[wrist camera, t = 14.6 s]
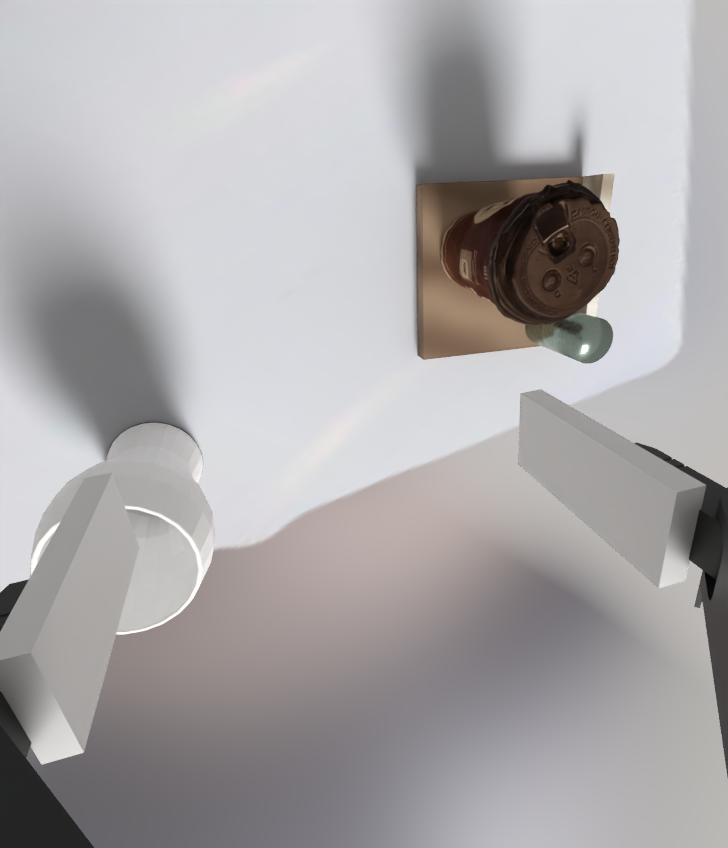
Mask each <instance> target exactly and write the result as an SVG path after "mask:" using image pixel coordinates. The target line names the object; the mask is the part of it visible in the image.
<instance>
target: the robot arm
mask: <svg viewBox="0 0 728 848" xmlns="http://www.w3.org/2000/svg"><path fill="white" fill-rule="evenodd" d="M518 464H519V465H520V466H521V467H522V468H523V469H524V470H525V471H526V472H528V473H529V474H530V475H531V476H532V477H534V479H536V480H537V481H538V482H539V483H540V484H541V485H542V486H543V487H545V488H546V489H547V490H548V491H549V492H550V493H551V494H552V495H554V496H555V497H556V498H557V499H558V500H559V501H560V502H562V503H563V504H564V505H565V506H566V507H567V508H568V509H569V510H571V511H572V512H573V513H574V514H575V515H576V516H578V517H579V518H580V519H581V520H582V521H583V522H584V523H585V524H587V525H588V526H589V527H590V528H591V529H592V530H593V531H594V532H595V533H597V534H598V535H599V536H600V537H601V538H602V539H603V540H605V541H606V542H607V543H608V544H609V545H610V546H611V547H612V548H614V549H615V550H616V551H617V552H618V553H619V554H620V555H621V556H623V557H624V558H625V559H626V560H627V561H628V562H629V563H630V564H632V565H633V566H634V567H635V568H636V569H637V570H638V571H640V572H641V573H642V574H643V575H644V576H645V577H646V578H647V579H649V580H650V581H651V582H652V583H653V584H654V585H655V586H656V587H658V588H662V587H665V586H668V585H672V584H676V583H679V582H683V581H685V580H686V576H687V571H688V566H689V562H690V561H692V562H693V563H694V564H696V565H697V566H698V567H700V568H701V569H702V570H703V572H702V576H701V580H700V585H699V589H698V593H697V597H696V603H695V607H698V608H700V605H701V602H703V607H704V613H705V621H706V628H707V635H708V642H709V649H710V656H711V663H712V670H713V677H714V684H715V691H716V699H717V706H718V713H719V720H720V727H721V734H722V740H723V748H724V755H725V761H726V769H727V775H728V488H725V487H723V486H721V485H720V484H718V483H716V482H714V481H713V480H711V479H709V478H707V477H705V476H704V475H702V474H700V473H698V472H696V471H695V470H693V469H691V468H689V467H688V466H686V467H685V466H684V464H682V463H680V462H679V461H677V460H675V459H673V460H672V459H671V457H670V456H668V455H666V454H664V453H663V452H661V451H659V450H657V449H655V448H652V447H649V446H646V445H642V444H639V443H633V442H631V441H629V440H627V439H626V438H624V437H622V436H620V435H619V434H617V433H615V432H614V431H612V430H610V429H608V428H607V427H605V426H603V425H601V424H600V423H598V422H596V421H595V420H593V419H591V418H589V417H588V416H586V415H584V414H582V413H581V412H579V411H577V410H575V409H574V408H572V407H570V406H569V405H567V404H565V403H563V402H562V401H560V400H558V399H557V398H555V397H553V396H551V395H550V394H548V393H546V392H544V391H543V390H536V391H531V392H525V393H521V396H520V425H519V454H518ZM138 551H139V545H138V543H137V540H136V537H135V534H134V531H133V529H132V526H131V523H130V520H129V517H128V515H127V512H126V509H125V506H124V503H123V501H122V498H121V495H120V492H119V490H118V487H117V484H116V481H115V478H114V476H113V473H107V474H102V475H97V476H92V477H87V478H84V480H83V482H82V483H81V485H80V487H79V489H78V491H77V493H76V494H75V496H74V498H73V500H72V502H71V503H70V505H69V507H68V509H67V511H66V513H65V514H64V516H63V518H62V520H61V522H60V524H59V525H58V527H57V529H56V531H55V533H54V534H53V536H52V538H51V540H50V542H49V544H48V545H47V547H46V549H45V551H44V553H43V555H42V556H41V558H40V560H39V562H38V564H37V565H36V567H35V569H34V571H33V573H32V575H31V576H30V578H29V580H26V581H21V582H17V583H12V584H9V585H8V586H7V587H6V588H5V589H4V590H3V591H2V592H1V593H0V848H94V847H93V846H92V845H91V843H90V842H89V840H88V839H87V838H86V837H85V836H84V834H83V833H82V832H81V830H80V829H79V827H78V826H77V825H76V824H75V822H74V821H73V820H72V818H71V817H70V816H69V814H68V813H67V812H66V810H65V809H64V808H63V806H62V805H61V804H60V803H59V801H58V800H57V799H56V797H55V796H54V795H53V793H52V792H51V791H50V789H49V788H48V787H47V786H46V784H45V783H44V782H43V780H42V779H41V778H40V776H39V775H38V774H37V772H36V771H35V770H34V768H33V767H32V766H31V765H30V763H29V762H28V761H27V759H26V756H27V754H28V751H29V748H30V746H31V748H32V749H33V751H34V753H35V754H36V756H37V757H38V759H39V761H40V763H41V764H46V763H49V762H52V761H56V760H59V759H63V758H66V757H70V756H74V755H77V754H81V753H84V750H85V746H86V742H87V739H88V735H89V731H90V727H91V724H92V720H93V717H94V713H95V709H96V705H97V702H98V698H99V695H100V691H101V687H102V683H103V680H104V676H105V673H106V669H107V665H108V662H109V658H110V654H111V650H112V646H113V643H114V639H115V636H116V632H117V628H118V625H119V621H120V617H121V614H122V610H123V606H124V603H125V599H126V595H127V592H128V588H129V584H130V581H131V577H132V573H133V570H134V566H135V562H136V559H137V555H138Z"/></svg>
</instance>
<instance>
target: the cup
mask: <svg viewBox="0 0 728 848" xmlns="http://www.w3.org/2000/svg"><path fill="white" fill-rule="evenodd" d="M202 467H203V461H202V454H201V452H200V450H199V448H198V446H197V444H196V443H195V441H194V440H193V439H192V438H191V437H190V436H189V435H188V434H186V433H185V432H183V431H182V430H180V429H179V428H176V427H173V426H171V425H168V424H162V423H144V424H140V425H137V426H134V427H131V428H129V429H127V430H126V431H124V432H123V433H121V434H120V435H119V436H118V437H117V438H116V440H115V441H114V442H113V443H112V445H111V448H110V450H109V452H108V456H107V460H106V461H104V462H101V463H99V464H97V465H95V466H93V467H91V468H89V469H87V470H86V471H84V472H82V473H81V474H79V475H78V476H76V477H75V478H73V479H72V480H70V481H69V482H67V483H66V485H65V486H64V487H63V488H62V489H61V490H60V492H59V493H58V494H57V495H56V496H55V497H54V499H53V500H52V502H51V503H50V505H49V506H48V508H47V509H46V511H45V512H44V514H43V516H42V518H41V520H40V523H39V525H38V528H37V530H36V533H35V538H34V544H33V549H32V555H31V568H30V576H31V575H32V573H33V571H34V569H35V567H36V565H37V564H38V562H39V560H40V558H41V556H42V555H43V553H44V551H45V549H46V547H47V545H48V544H49V542H50V540H51V538H52V536H53V534H54V533H55V531H56V529H57V527H58V525H59V524H60V522H61V520H62V518H63V516H64V514H65V513H66V511H67V509H68V507H69V505H70V503H71V502H72V500H73V498H74V496H75V494H76V493H77V491H78V489H79V487H80V485H81V483H82V482H83V480H84V478H87V477H92V476H97V475H102V474H107V473H113V476H114V478H115V481H116V484H117V487H118V490H119V492H120V495H121V498H122V501H123V503H124V506H125V509H126V512H127V515H128V517H129V520H130V523H131V526H132V529H133V531H134V534H135V537H136V540H137V543H138V545H139V551H138V555H137V559H136V562H135V566H134V570H133V573H132V577H131V581H130V584H129V588H128V592H127V595H126V599H125V603H124V606H123V610H122V614H121V617H120V621H119V625H118V628H117V632H116V634H128V633H135V632H141V631H145V630H148V629H150V628H153V627H156V626H158V625H161V624H163V623H165V622H166V621H168V620H169V619H171V618H173V617H174V616H176V615H177V614H179V613H180V612H181V611H182V610H183V609H184V608H185V607H186V606H187V605H188V604H189V603H190V601H191V600H192V599H193V597H194V595H195V594H196V592H197V590H198V588H199V586H200V584H201V582H202V580H203V578H204V576H205V574H206V571H207V569H208V567H209V565H210V563H211V558H212V553H213V547H214V536H215V526H214V519H213V512H212V510H211V508H210V506H209V504H208V502H207V500H206V498H205V496H204V494H203V492H202V490H201V488H200V486H199V484H198V481H199V479H200V477H201V474H202Z"/></svg>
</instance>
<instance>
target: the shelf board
mask: <svg viewBox="0 0 728 848" xmlns="http://www.w3.org/2000/svg"><path fill="white" fill-rule="evenodd" d="M568 180H571V181H572V182H574V183H579V184H581V185H583V186H585V187H586V188H588V189H589V190H590V191H592V192H593V194H594V195H596V196H597V197H598V198H599V199H600V200H601V201H602V203H603V205H604V207H605V209H607V211H608V212H610V204H611V197H612V189H613V181H614V174H601V175H593V176H585V177H567V178H545V179H524V180H502V181H480V182H458V183H436V184H421V185H416V191H417V292H418V356H419V357H421V358H422V359H424V360H425V359H433V358H442V357H451V356H459V355H468V354H476V353H485V352H493V351H502V350H510V349H519V348H527V347H536V346H541V345H538V344H536V343H534V342H532V341H531V340H529V338H528V337H527V335H526V331H525V324H522V323H518V322H515V321H514V320H512V319H509V318H507V317H505V316H503V315H502V314H501V313H500V311H499V310H498V309H497V307H496V306H495V304H493V303H492V302H491V301H488V300H486V299H484V298H481V297H479V296H478V295H477V294H474V293H473V292H471V291H469V290H468V289H466V288H464V287H462V286H459V285H458V284H457V283H455V282H454V281H453V280H452V279H450V278H449V277H448V276H447V275H446V273H445V272H444V269H443V266H442V264H441V257H442V256H441V253H440V250H441V247H442V244H443V236H444V233H445V231H446V230H447V229H448V228H449V227H450V226H451V225H452V224H453V223H454V221H455V220H456V219H457V218H459V217H461V216H463V215H465V214H466V213H468V212H471V211H475V210H479V209H482V208H485V207H487V206H489V205H492V204H495V203H499V202H502V201H506V200H509V199H511V198H514V197H518V196H522V195H525V194H529V193H536V192H540V191H542V190H543V189H544V187H545V186H546V185H552V186H554V185H556V184H561V183H566V182H567V181H568ZM598 297H599V293H598V294H597V295H596V296H595V297H594V298H593V299H592V300H591V301H590V302H589V303H588V304H587V305H585V306H584V307H583V308H581V309H580V310H579V311H577V312H579V313H583V314H587V315H590V316H594V317H596V313H597V305H598Z"/></svg>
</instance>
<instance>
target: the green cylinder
mask: <svg viewBox="0 0 728 848" xmlns="http://www.w3.org/2000/svg"><path fill="white" fill-rule="evenodd" d="M525 331H526V335H527V337H528V338H529V340H531V341H532V342H534V343H536V344H538V345H541V346H543V347H546V348H548V349H551V350H553V351H555V352H558V353H560V354H563V355H565V356H568V357H570V358H572V359H575V360H577V361H580V362H582V363H593V362H596V361H598V360H599V359H601V358H602V357H603V356H604V355H605V354H606V353H607V351H608V350H609V348H610V346H611V343H612V340H613V331H612V327H611V325H610V324H609V323H608V322H607V321H606V320H604V319H601V318H598V317H594V316H590V315H587V314H583V313H579V312H576V313H574V314H573V315H571V316H570V317H568V318H566V319H563V320H561V321H558V322H554V323H551V324H547V325H544V324H541V325H526V324H525Z"/></svg>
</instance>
